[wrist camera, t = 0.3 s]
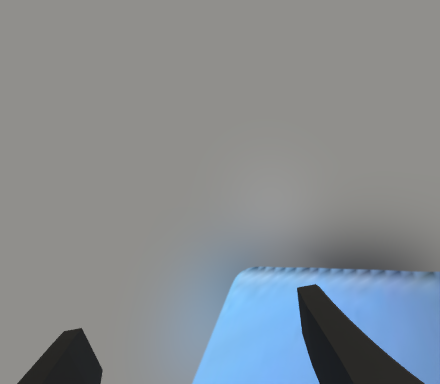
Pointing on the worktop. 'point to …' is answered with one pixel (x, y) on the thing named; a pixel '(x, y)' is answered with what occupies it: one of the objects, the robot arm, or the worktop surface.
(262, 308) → the worktop surface
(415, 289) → the worktop surface
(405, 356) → the worktop surface
